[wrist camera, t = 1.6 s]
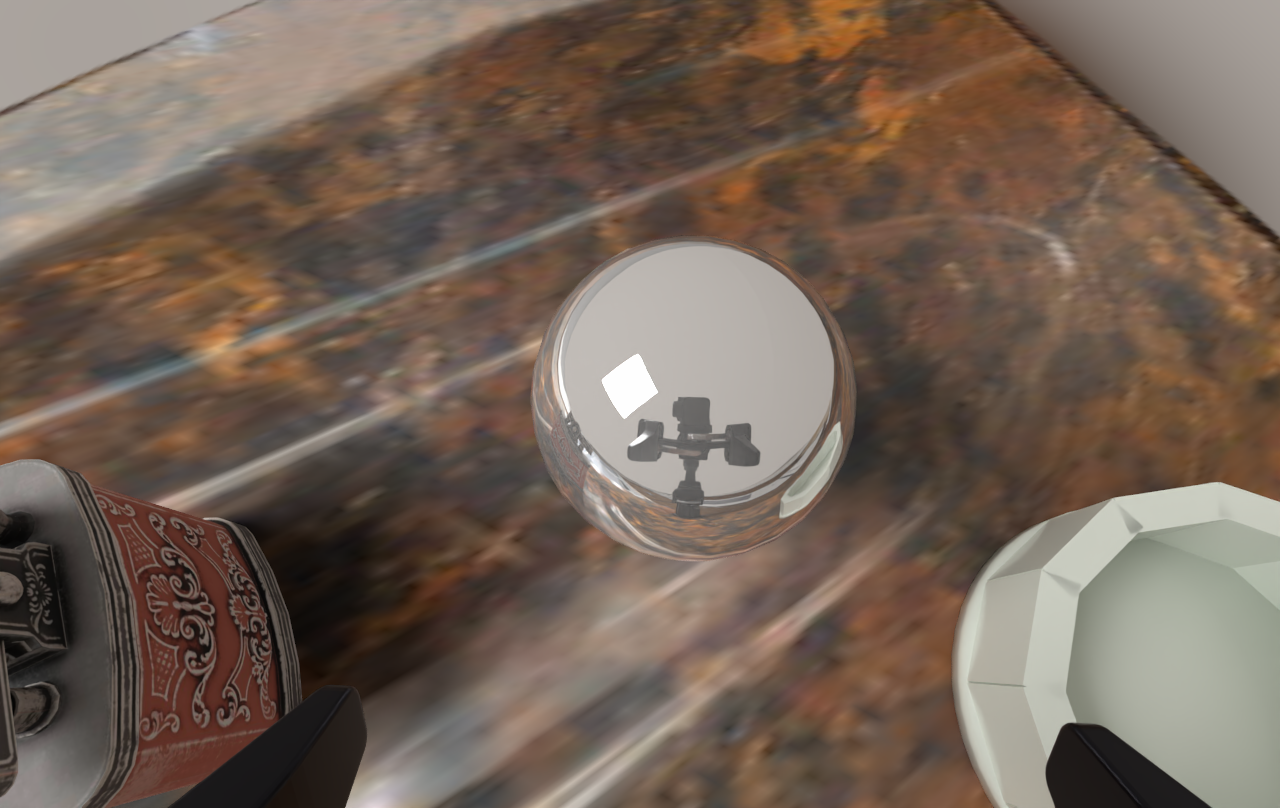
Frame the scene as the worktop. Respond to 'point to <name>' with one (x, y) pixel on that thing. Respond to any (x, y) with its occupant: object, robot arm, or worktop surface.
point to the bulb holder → (1130, 644)
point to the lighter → (128, 643)
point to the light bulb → (694, 398)
